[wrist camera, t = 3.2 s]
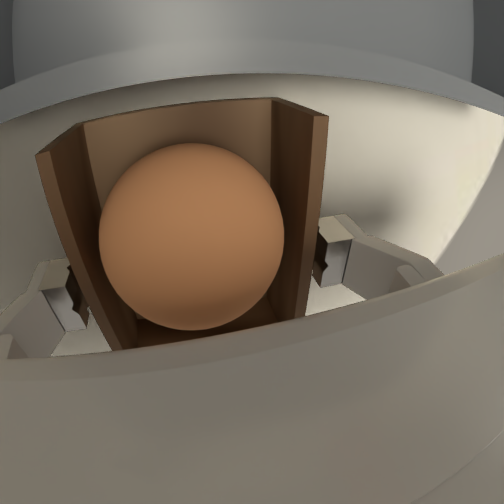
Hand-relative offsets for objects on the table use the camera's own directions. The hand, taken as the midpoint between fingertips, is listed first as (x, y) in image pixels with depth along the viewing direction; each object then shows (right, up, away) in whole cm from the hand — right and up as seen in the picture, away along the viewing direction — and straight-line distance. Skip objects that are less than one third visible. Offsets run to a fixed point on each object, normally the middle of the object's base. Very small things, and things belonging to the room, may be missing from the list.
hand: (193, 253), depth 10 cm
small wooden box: (0, +1, +1) cm, 2 cm away
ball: (0, 0, -2) cm, 2 cm away
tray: (+3, +11, -5) cm, 13 cm away
